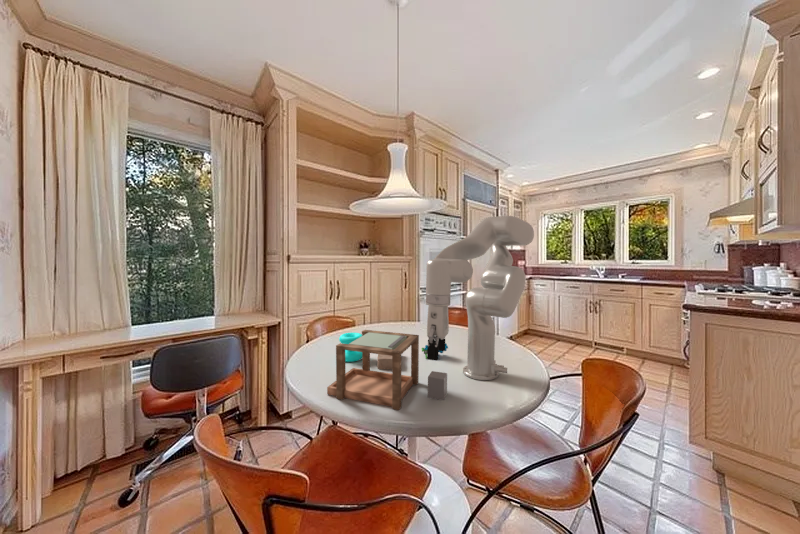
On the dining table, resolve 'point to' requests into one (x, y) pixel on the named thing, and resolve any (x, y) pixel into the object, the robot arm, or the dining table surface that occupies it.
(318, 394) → the dining table surface
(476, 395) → the dining table surface
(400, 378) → the frame
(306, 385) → the dining table surface
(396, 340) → the trapdoor
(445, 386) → the grey squarish block
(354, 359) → the donuts
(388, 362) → the brick
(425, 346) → the gear
